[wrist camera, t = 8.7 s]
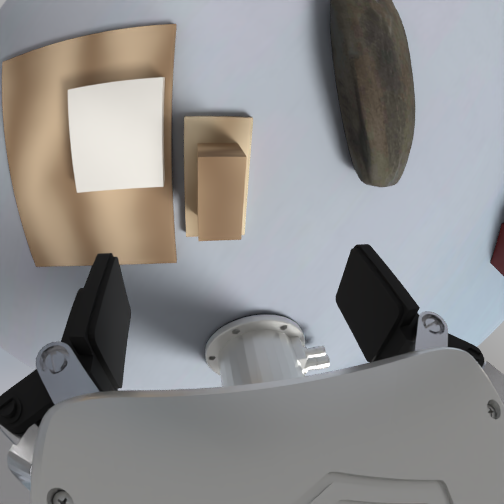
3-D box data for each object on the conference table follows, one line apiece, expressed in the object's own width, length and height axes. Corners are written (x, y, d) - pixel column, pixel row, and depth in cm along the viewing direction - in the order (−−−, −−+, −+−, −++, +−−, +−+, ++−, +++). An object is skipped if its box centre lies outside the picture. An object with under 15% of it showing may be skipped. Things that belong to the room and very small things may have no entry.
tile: (165, 180, 21) (165, 77, 17) (163, 186, 20) (163, 77, 16) (82, 186, 20) (75, 88, 15) (76, 192, 19) (67, 89, 14)
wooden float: (250, 116, 20) (265, 126, 16) (242, 229, 26) (252, 261, 22) (184, 115, 19) (181, 125, 15) (186, 230, 25) (185, 264, 21)
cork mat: (176, 25, 15) (176, 23, 15) (176, 258, 26) (176, 262, 26) (6, 61, 12) (2, 62, 12) (38, 263, 23) (36, 266, 23)
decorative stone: (318, -8, 15) (341, -21, 11) (384, 0, 15) (413, -6, 12) (338, 179, 25) (360, 198, 21) (395, 170, 25) (420, 187, 22)
